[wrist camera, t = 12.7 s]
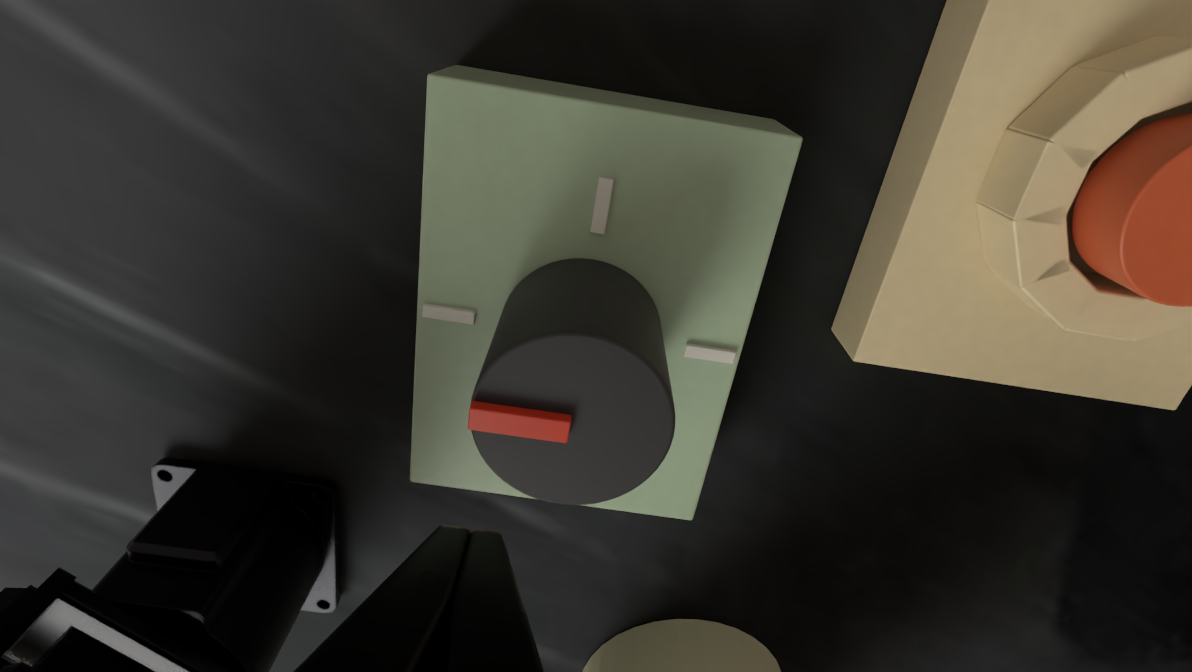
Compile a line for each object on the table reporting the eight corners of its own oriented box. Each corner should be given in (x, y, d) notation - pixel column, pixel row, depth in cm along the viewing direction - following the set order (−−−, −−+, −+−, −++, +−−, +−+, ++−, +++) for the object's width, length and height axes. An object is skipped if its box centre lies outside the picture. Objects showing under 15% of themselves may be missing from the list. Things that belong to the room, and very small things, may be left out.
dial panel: (683, 464, 24) (693, 525, 21) (432, 427, 23) (407, 485, 20) (776, 119, 18) (806, 138, 16) (454, 64, 18) (424, 73, 15)
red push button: (1192, 291, 17) (1253, 320, 15) (1040, 266, 16) (1086, 293, 15) (1290, 128, 15) (1370, 142, 13) (1122, 99, 15) (1184, 108, 13)
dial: (676, 271, 17) (698, 356, 13) (644, 412, 19) (654, 527, 15) (508, 244, 17) (474, 324, 13) (493, 390, 19) (459, 501, 15)
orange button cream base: (1124, 375, 22) (1226, 446, 18) (830, 329, 21) (875, 393, 18) (1367, -38, 17) (1577, -52, 13) (985, -112, 16) (1093, -148, 12)
